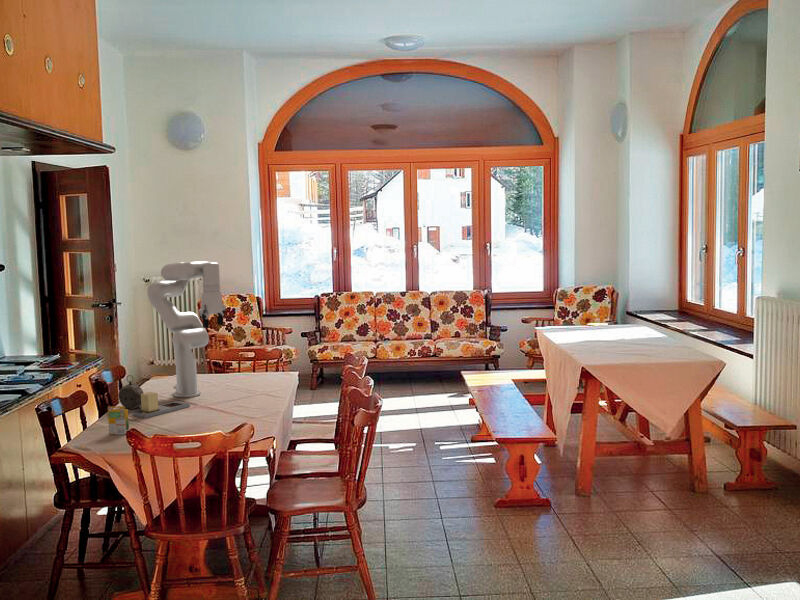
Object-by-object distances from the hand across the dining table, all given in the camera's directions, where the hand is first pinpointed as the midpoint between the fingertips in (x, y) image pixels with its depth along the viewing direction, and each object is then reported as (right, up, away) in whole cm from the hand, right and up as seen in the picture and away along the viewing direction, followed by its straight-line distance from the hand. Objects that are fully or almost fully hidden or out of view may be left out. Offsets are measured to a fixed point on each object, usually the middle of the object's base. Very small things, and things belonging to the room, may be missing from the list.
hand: (213, 326), depth 392 cm
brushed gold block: (-23, -38, -20) cm, 48 cm away
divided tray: (-20, -38, -15) cm, 45 cm away
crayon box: (-28, -42, -47) cm, 69 cm away
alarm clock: (-35, -38, -9) cm, 52 cm away
